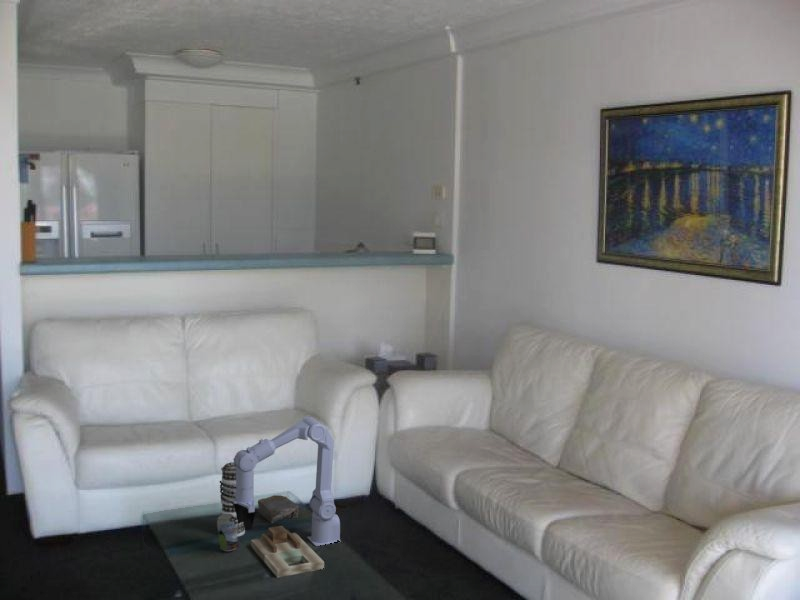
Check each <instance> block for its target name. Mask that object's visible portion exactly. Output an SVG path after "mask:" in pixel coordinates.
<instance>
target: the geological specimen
mask: <svg viewBox="0 0 800 600" xmlns="http://www.w3.org/2000/svg"><path fill="white" fill-rule="evenodd" d="M257 505H258V509H257V510H258V513H259V515H261V516H263V518H264V519H266V520H267V521H269V523H270V524H273V523H276V522H279V521H283V520H284V519H290V518H293V519H298V518H299V507H300V506H299V505H298V504H296V503H295V502H294V501H293V500H292V499H290V498H288V496H284V495H278V494H277V495H271V496H268V497H265V498H259V499H258V500H257Z"/></svg>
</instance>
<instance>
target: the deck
mask: <svg viewBox="0 0 800 600" xmlns="http://www.w3.org/2000/svg"><path fill="white" fill-rule="evenodd" d="M286 530H287V542H285V543H279V544H274V543H273V542H272V541H271V540H270V539H269V537H268V534H266V533H261V535H260V536H261V538H260V537H259V538H255V539H251V541H250V543H251V545H250V547H251V548H252V550H254V552H255V553H256V554H257V555H258V556H259V557H260V560H262V561H263V562H264V564H265V565H266V566H267V567H268V568H269V570H270V571H271V572H272V573H273V574H274V575H275V577H276V578H277V579H278V578H283V577H287V576H288V577H289V576H293V575H298V574H305V573H309V572H314V571H320V569H321V570H324V569H325V561H324V560H323V559H322V558H321V557H320V556H319V555H318V553H316V552H315V551H314V550H313V549H312V548H311V547H310V545H308V544H307V543H306V541H304V540H303V539H302V538H301V536H299V534H297V532H292V533H291V532H290V531H289V530H288V529H286ZM323 568H324V569H323Z"/></svg>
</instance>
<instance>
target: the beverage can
mask: <svg viewBox="0 0 800 600" xmlns="http://www.w3.org/2000/svg"><path fill="white" fill-rule="evenodd" d="M216 527H217V533H218V539H219V546H220V550H222V551H224V552H232V551H235V550H237V548H238V547H239V540H238V537H237V531H236V524H235V518H234V517H233V515H232V514H224V515H221V514H220V515H219V516H218V517H217V520H216Z"/></svg>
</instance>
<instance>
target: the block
mask: <svg viewBox="0 0 800 600" xmlns="http://www.w3.org/2000/svg"><path fill="white" fill-rule="evenodd" d="M267 529H268V530H267V531H268V532H267V536H268V537H269V539H270V540H271V541H272V542H273V543H274V544H279V543H285V542H287V530H288V529H286V528H285V527H284V526H283V525H279V526H278V525H277V526H271V527H268V528H267Z"/></svg>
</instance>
